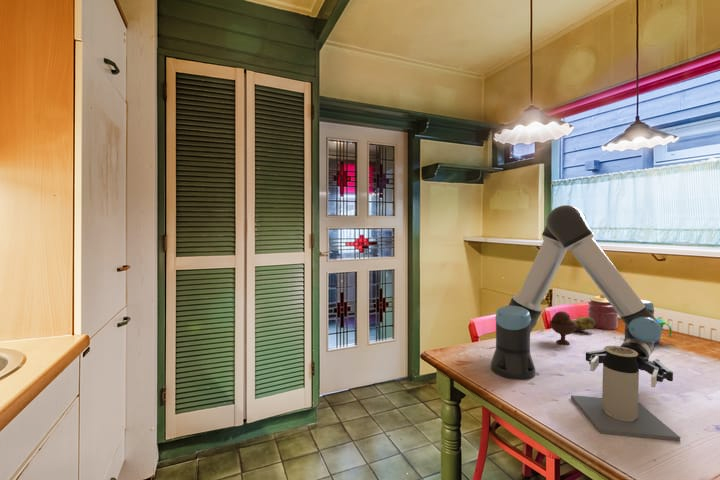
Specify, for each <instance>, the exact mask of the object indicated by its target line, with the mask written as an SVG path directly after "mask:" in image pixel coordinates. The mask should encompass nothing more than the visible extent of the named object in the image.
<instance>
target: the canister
mask: <svg viewBox="0 0 720 480" xmlns="http://www.w3.org/2000/svg"><path fill="white" fill-rule="evenodd" d="M589 300H590V301H589V302H588V303H587V304H588V306H589V307H588V309H587V311H588V312H587V313H588V316H587V317H590V318H592V319H593V320H594V321H595V325H594V328H597V329H602V330H616V329H618V326H619V325H618V324H619V323H618V317H619V315H618V313H617V312H616V311H615V309H614V308H613V307H612V305H611V304H610V303H609V301H608V300H607V299H606V297H605V296H604V295H603V293H602V292H601V293H600V295H599V296H598V295H597V296H595V295H594V296H593V297H591V298H589Z"/></svg>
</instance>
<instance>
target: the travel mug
mask: <svg viewBox="0 0 720 480" xmlns="http://www.w3.org/2000/svg"><path fill="white" fill-rule="evenodd" d="M620 346H621V345H620ZM620 346H619V345H605V346H604V348H603V349H605V351H606V355H605V356H604V358H603V363H602V389H601V391H602V395H601V398H602V408H603V410H604V411H605V412H607V413H608V414H610V415H612V416H614V417H617V418H620V419H627V420H632V419H636V418H637V417H638V402H639V382H640V381H639V379H640V378H639V376H640V369H639V364H638V362H637V361H636V357H637V356H638V353H637V352H636V351H634V350H632V349H629V348H625V347H620Z"/></svg>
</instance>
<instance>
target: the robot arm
mask: <svg viewBox="0 0 720 480" xmlns="http://www.w3.org/2000/svg"><path fill="white" fill-rule="evenodd" d="M594 234H595V233H594V231H593V230H592V229H591V228H590V227H589V225H588V223H587V217H586V215H585V213H584V212H583V211H582V210H581V209H579V208H577V207H575V206H572V205H567V204H566V205H565V204H564V205H559V206H557V207H555V208H554V209H552V210H551V211H550V212H549V213H548V215H547V218H546V225H545V227H544V230H543V231H542V234H541V236H542V237H541V238H542V239H543V242H542V244H541V246H540V248H539V250H538V252H537V254H536V256H535V258H534V260H533V263H532V264H531V266H530V269H529V270H528V273H527V275H526V277H525V279H524V281H523V283H522V285H521V288H520V290H519V292H518V293H517V294H515V295H512V297H511V299H510V301H509V303H508V305H506V306H501V307H499V308H497V309H496V313H495V314H496V315H495V350H494V353H493V356H492V358H491V361H490V369H491V371H492V372H493V373H495V374H496V375H498V376H500V377H504V378H506V379H511V380H518V381H519V380H521V381H525V380H530V379H533V378H534V377H535V376H536V366H535V364H534V361H533V359H532V355H531V333H532V331H533V329H534V328H535V326H536V325H537V321H538V319H539V318H540V315H541V313H542V312H543V308H542V306H541V304H542V301H543V300H544V297H545V296H546V294H547V292H548V290H549V287H550V286H551V284H552V281H554V278H555V276H556V273H557V271H558V269H559V268H560V266H561V264H562V261H563V260H564V258H565V255H566V254H567V253H568V252H567V251H570V253H572V254H573V256H574V257H575V259H576V260H577V261H578V263H579V264H580V265H581V267H582V268H583V270H584V271H585V272H586V273H587V275H588V276H589V277H590V279H591V280H592V281H593V282H594V284H595V285H596V287H597V288H598V289H599V291H600V292H601V294H602V293H603V295H604V296H605V297H606V299H607V300H608V301H609V303H610V304H611V305H612V307H613V308H614V309H615V311H616V312H617V313H618V317H620V319H621V320H622V322H623V324H624V340H623V342H622V344H621V345H620V347H625V348H629V349H632V350H634V351H636V352H637V353H638V356H637V357H636V361H637V362H638V364H639V371H644V372H646V373H647V374H649V375H651V378H650V379H651V381H650V382H651V384H650V386H651V387H652V388H656V385H657V383H659V382H660V383H663V382H664V380H667V381H669V382H673V381H674V372H673V371H672V370H671V369H670V368H669V367H667V366H666V365H665V364H663V363H662V362H661V360H660V359H657V358H656V359H652V360H650V357H651V355H652V353H653V352H654V351H655V343H654V341H656V340H657V339H659V337H660V336H662V331H663V329H662V330H661V325H660V324H659V323H658V322H657V320H656V319H655V318H656V317H655V316H654V315H655V314H654V312H655V310H654V303H653V302H652V301H649V300H646V299H645V300H644V299H640V297H639V296H638V295H637V293H636V292H635V291H634V290H633V288H632V287H631V286H630V285H629V283H628V281H627V280H626V278H624V276H623V274H621V273H620V272H619V270H618V269H617V268H616V266H615V265H614V263H613V262H612V261H611V259H610V258H609V257H608V255H606V253H605V252H604V250H603V249H602V248H601V247H600V245H599V244H598V243H597V241H596V240H595V239H594ZM605 355H606V351H605V349H604V348H603V349H600V350H599V349H598V350H592V351H588V352H585V361H586V362H588V363H589V367H590V370H589V371H591V372H594V371H595V370H596V369H597V368H598V367H599V366H600V365H599V364H603V358H604V356H605Z"/></svg>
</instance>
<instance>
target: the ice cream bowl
mask: <svg viewBox="0 0 720 480" xmlns="http://www.w3.org/2000/svg"><path fill="white" fill-rule="evenodd" d="M549 325H550V328H551V329H552V330H553V331H554V332H555V333H556V334H559V335H560V339H557V340H556V341H555V342H556V344H557V345H561V346H570V342H569V341H568V340H566V336H569V335H571V334H573V333H575V332H576V331H575V330H576V329H577V324H576V323H574V322H573V321H572V319H571V316H570V314H569V313H568V312H566V311H563V310H562V311H558V312H556V313H555V314H554V315H553V316H552V318H551V320H549Z"/></svg>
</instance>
